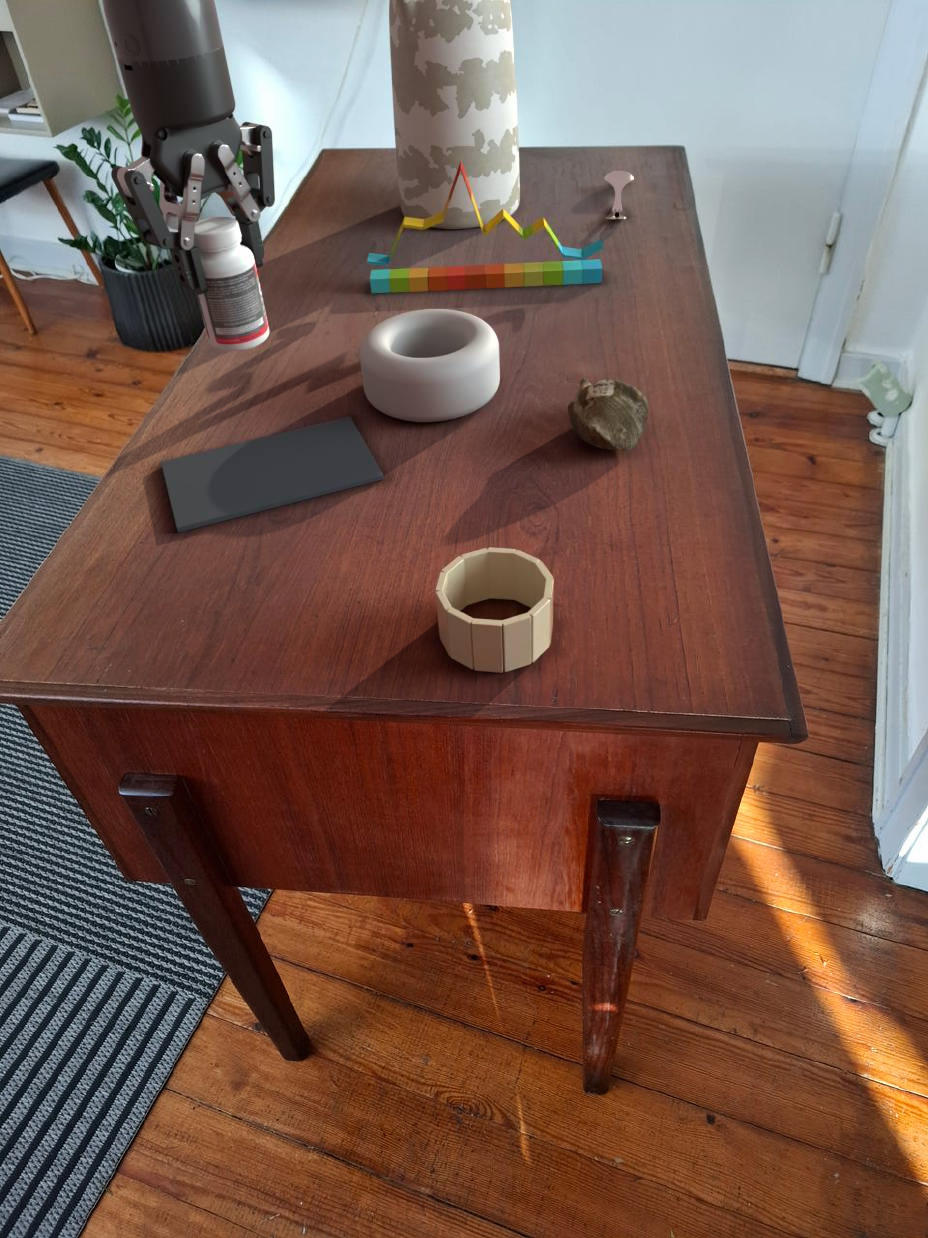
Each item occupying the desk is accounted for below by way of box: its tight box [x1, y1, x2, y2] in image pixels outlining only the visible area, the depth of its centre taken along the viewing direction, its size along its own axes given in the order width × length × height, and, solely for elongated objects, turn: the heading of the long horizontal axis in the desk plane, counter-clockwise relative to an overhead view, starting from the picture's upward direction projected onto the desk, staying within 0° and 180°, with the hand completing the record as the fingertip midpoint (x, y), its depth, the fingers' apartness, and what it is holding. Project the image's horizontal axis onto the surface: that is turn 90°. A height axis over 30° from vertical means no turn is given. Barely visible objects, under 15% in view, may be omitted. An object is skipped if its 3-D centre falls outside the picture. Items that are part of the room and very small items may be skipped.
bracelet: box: [434, 547, 555, 674], centre depth 69 cm, size 9×9×5 cm
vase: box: [388, 0, 521, 230], centre depth 126 cm, size 20×19×38 cm
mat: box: [160, 416, 384, 533], centre depth 89 cm, size 20×12×1 cm, turn 111°
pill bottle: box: [193, 216, 270, 352], centre depth 75 cm, size 5×5×10 cm
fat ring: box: [358, 308, 501, 423], centre depth 97 cm, size 15×15×7 cm
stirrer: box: [603, 170, 635, 220], centre depth 135 cm, size 20×4×5 cm
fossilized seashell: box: [567, 377, 650, 452], centre depth 89 cm, size 8×7×10 cm
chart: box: [367, 161, 604, 294], centre depth 114 cm, size 30×3×15 cm, turn 89°
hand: (225, 277), depth 75 cm, fingers closed on pill bottle, 5 cm apart
